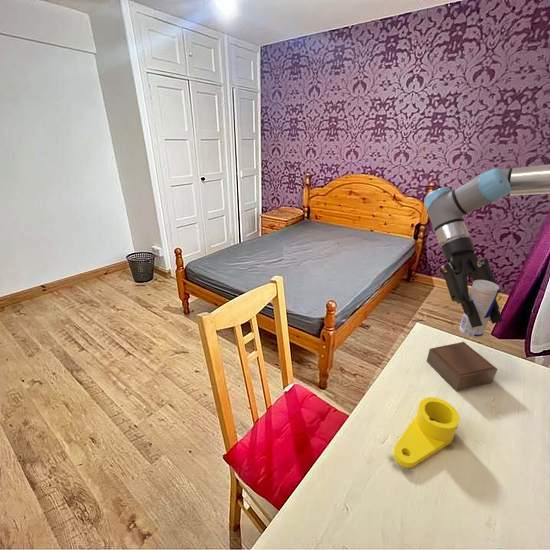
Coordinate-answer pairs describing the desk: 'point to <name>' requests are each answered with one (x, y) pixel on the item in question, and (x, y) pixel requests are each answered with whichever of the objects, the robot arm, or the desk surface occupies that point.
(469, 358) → the block
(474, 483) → the desk surface
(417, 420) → the crank
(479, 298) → the beverage can
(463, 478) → the desk surface
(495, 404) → the desk surface
